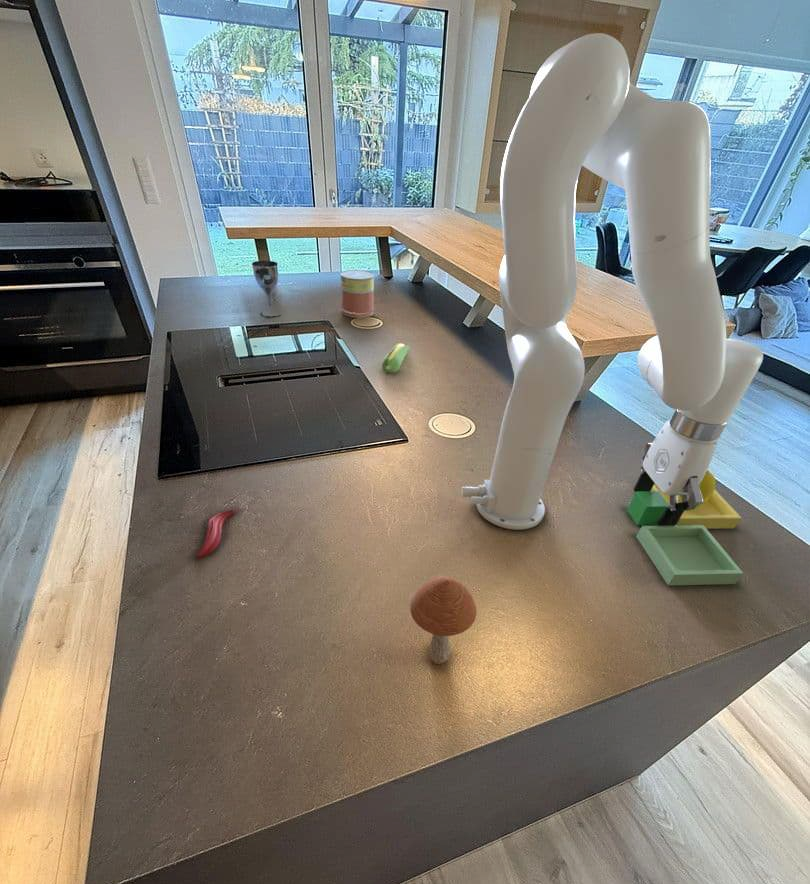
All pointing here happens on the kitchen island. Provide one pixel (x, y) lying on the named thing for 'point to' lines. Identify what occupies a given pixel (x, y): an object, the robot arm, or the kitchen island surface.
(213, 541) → the cayenne pepper
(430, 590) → the mushroom
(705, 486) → the lemon
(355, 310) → the canned food
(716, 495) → the yellow tray
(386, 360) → the edible corn
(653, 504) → the green cube
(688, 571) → the green tray
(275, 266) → the wine glass
